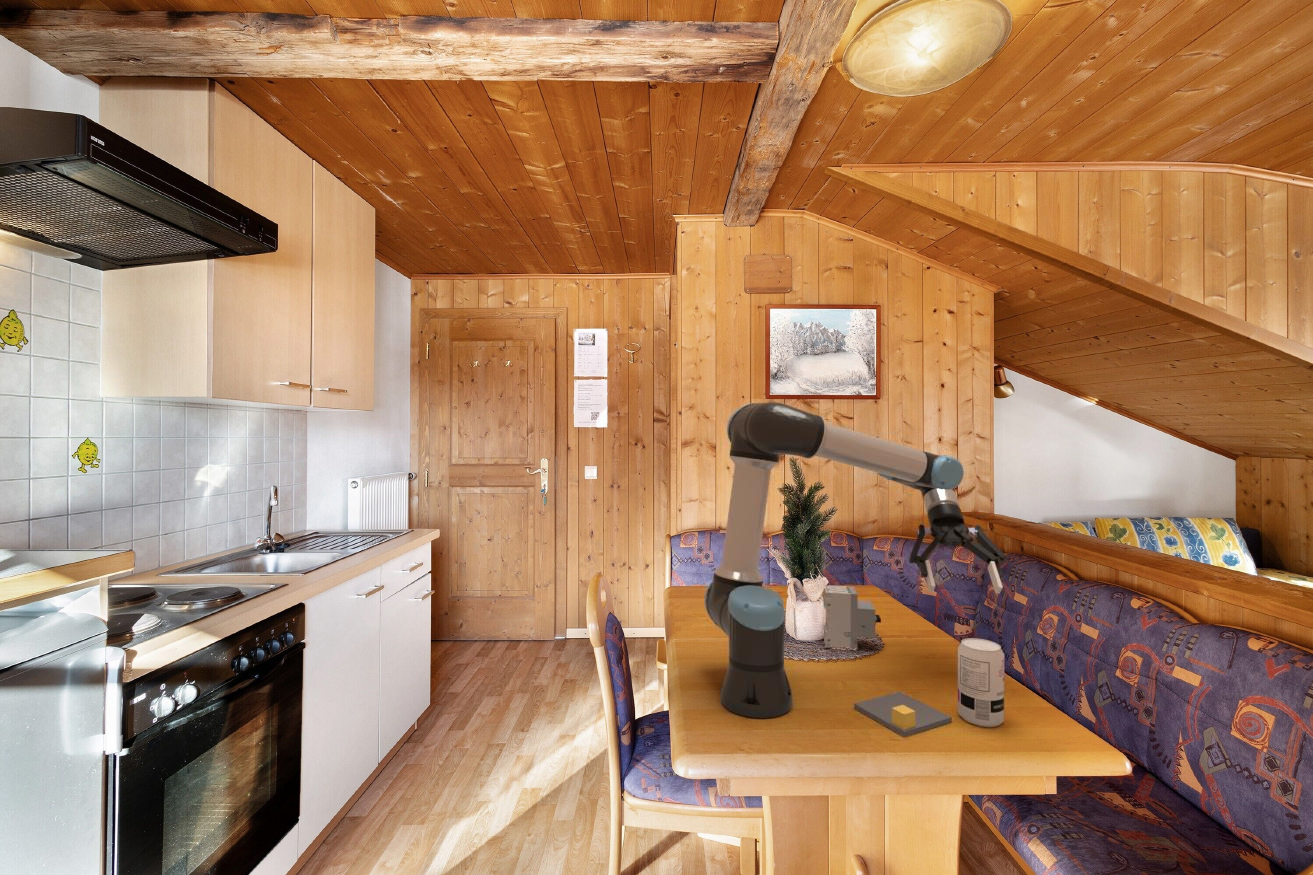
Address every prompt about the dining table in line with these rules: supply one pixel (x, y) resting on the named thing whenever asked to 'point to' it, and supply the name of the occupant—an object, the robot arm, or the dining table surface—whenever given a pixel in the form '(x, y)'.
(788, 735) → the dining table surface
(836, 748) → the dining table surface
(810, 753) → the dining table surface
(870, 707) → the pad
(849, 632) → the circuit breaker
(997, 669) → the supplement can
